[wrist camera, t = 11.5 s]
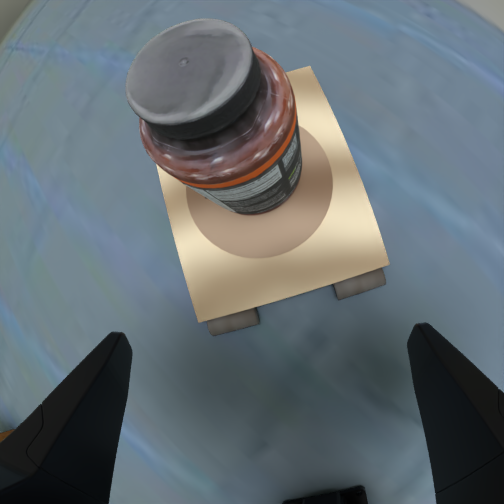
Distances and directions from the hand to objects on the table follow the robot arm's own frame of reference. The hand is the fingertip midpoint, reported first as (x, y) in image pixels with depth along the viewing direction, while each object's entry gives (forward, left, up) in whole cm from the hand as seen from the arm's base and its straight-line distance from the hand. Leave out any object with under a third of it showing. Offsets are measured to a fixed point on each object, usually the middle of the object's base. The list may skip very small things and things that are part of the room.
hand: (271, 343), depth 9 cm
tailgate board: (+7, 0, -11) cm, 13 cm away
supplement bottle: (+8, 0, -9) cm, 13 cm away
